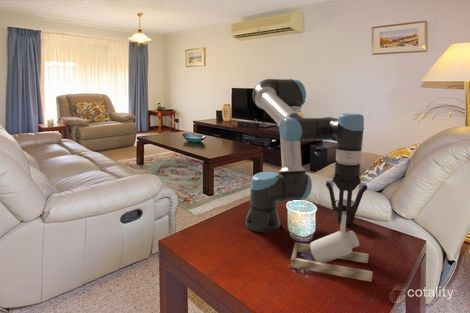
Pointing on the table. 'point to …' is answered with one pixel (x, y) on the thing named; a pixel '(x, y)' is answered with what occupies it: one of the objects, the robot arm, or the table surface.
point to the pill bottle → (333, 246)
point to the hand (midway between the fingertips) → (342, 231)
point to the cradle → (331, 268)
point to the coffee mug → (345, 211)
